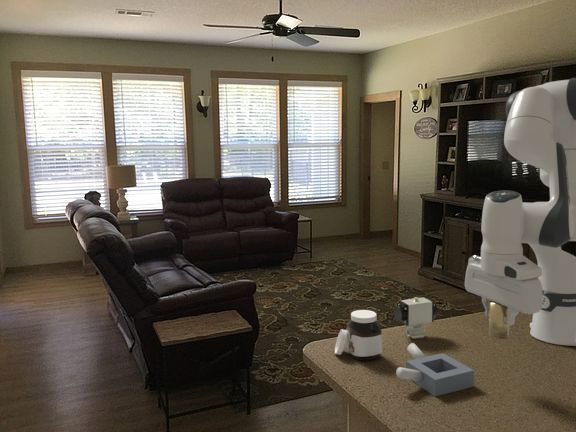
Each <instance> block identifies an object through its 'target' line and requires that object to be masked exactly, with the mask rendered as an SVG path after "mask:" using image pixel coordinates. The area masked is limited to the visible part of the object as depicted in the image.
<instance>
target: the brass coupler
mask: <svg viewBox="0 0 576 432" xmlns="http://www.w3.org/2000/svg"><path fill="white" fill-rule="evenodd" d="M508 314H509V311H508V307H507V306H504V305H502V304H499V303H496V302H494V301H491V300H490V308H489V317H488V335H489V337H491V338H494V339H500V340H506V339H509V338H510V327H511V326H509V325H507V324H505V323H504V317H505V316H508Z"/></svg>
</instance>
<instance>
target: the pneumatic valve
mask: <svg viewBox="0 0 576 432" xmlns="http://www.w3.org/2000/svg"><path fill="white" fill-rule="evenodd" d="M438 310H439V309H438V306H437V303H436V302H435V301H434V300H432V299H430V298H427V296H426V297H425V296H424V297H418V296H415V297H413V298H407V299H403V300H401V299H400V300H398V304H397V306H395V308H394V316H395V319H396V320H397V322H399V323H401V324H403V325H404V326H406V327H407V328H406V330H405V331H406V335H407V336H408V337H411V339H413V340H417V339H424V338H425V335H426V333H427V328H426V327H425V326H423V325H424V324H429V323H430V324H431V323H434V322H435V317H437V315H438V313H439V311H438Z"/></svg>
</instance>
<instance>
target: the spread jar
mask: <svg viewBox="0 0 576 432" xmlns="http://www.w3.org/2000/svg"><path fill="white" fill-rule="evenodd" d="M377 315H378V314H377V313H376V312H375V311H373V310H369V309H358V310H354V311H351V313H350V320H349V321H348V322H347V325H346V329H342V328H341V329H340V331H339V332H338V336H337V338H336V341H335V346H334V354H335V355H338V356H341V355H342V354H343V351H344V348H345V345H346V347H347V350H348V352H349V353H348V354H349V355H350V356H351V357H352V358H353V359H355V360H359V361H372V360H374V359H377V358H378V357H379V356H380V355H381V354H382V351H383V333H382V328H381V326H380V324H379V322H378V321H377V319H378V317H377Z"/></svg>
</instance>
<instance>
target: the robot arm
mask: <svg viewBox="0 0 576 432" xmlns="http://www.w3.org/2000/svg"><path fill="white" fill-rule="evenodd" d="M505 113H506V114H505V115H506V123H505V128H504V133H503V134H504V136H503V144H504V147H505V149H506V151H507V152H508V154H509V155H510V156H512V157H513V158H514V159H515V160H517V161H519V162H521V163H524V164H526V165H529V166H533V167H535V168H537V169H539V179H540V180H541V182H542V184H543V185H545V186H546V187H548V188H549V201H535V202H525V201H524V202H523V198H522V195H521V194H520V193H519V192H517V191H515V190H498V191H497V190H496V191H492V192H489V193H488V194H486V196H485V198H484V202H483V207H482V213H481V214H482V216H481V226H480V227H481V231H480V232H481V234H482V243H481V246H480V256H479V255H476V254H474V255H472V256H470V257H469V258H468V262H467V267H466V271H465V277H464V287H465V290H466V292H468V293H471V294H473V295H476V296H479V297H481V303H482V304H483V308H484V309H485V310H484V315H485V316H486V317H488V318H489V308H490V300H491V301H494V302H496V303H499V304H502V305H504V306H507V307H508V311H509V314H508V316H505V317H504V323H505V324H507V325H509V326H510V327H511V326H514V325H515V322H516V321H515V319H516V317H517V316H518V314H519V313H523V314H525V315H532V319H531V322H529V328H530V331H529V334H530V335H531V336H532V337H533V338H535V339H537V340H539V341H541V342H545V343H548V344H552V345H553V344H554V345H559V346H573V347H576V256H575V255H574V254H571V253H569V252H567V251H564V250H562V249H563V248H562V246H563V245H565V244H566V243H568V242H576V77H572V78H570V79H563V80H562V79H561V80H555V81H549V82H544V83H543V84H540V85H536V86H530V87H526V88H523V89H520V90H517V91H515V92H514V93H512V94H510V95H509V97H508V98H507V100H506V103H505ZM522 244H528V245H529V246H530V248H531V249H532V251H533V252H534V254H535V258H536V261H537V264H536V263H534V262H533V261H532V260H530V259H529V258H528V257H527V256H525V255H524V247H523V245H522Z"/></svg>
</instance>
